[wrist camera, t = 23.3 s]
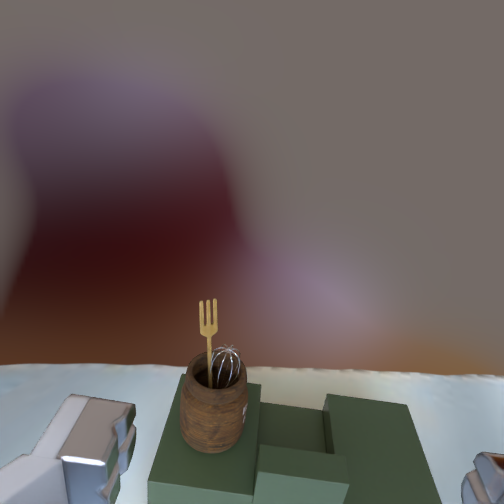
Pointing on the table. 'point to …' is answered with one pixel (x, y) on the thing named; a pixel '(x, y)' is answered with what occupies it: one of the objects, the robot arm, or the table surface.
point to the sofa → (299, 457)
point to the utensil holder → (213, 395)
